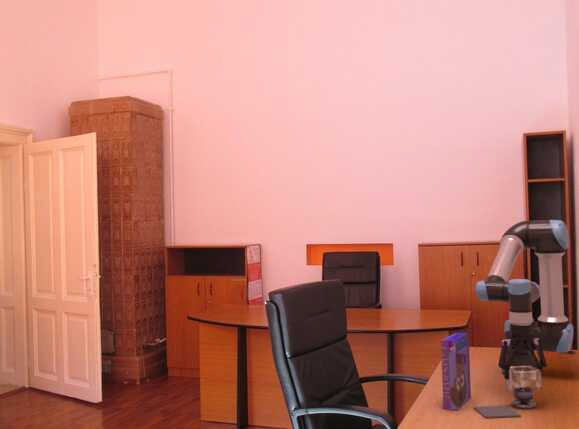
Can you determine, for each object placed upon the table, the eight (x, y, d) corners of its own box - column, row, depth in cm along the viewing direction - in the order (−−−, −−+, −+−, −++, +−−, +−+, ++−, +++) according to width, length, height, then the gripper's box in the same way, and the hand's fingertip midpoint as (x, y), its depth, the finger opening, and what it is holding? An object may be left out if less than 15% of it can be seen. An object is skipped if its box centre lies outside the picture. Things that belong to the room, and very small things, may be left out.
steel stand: (529, 402, 216) (528, 365, 217) (540, 408, 208) (538, 370, 209) (507, 403, 216) (506, 366, 216) (517, 409, 208) (516, 371, 208)
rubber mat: (507, 407, 211) (507, 405, 211) (520, 417, 200) (520, 415, 200) (473, 408, 211) (473, 406, 211) (485, 418, 200) (485, 416, 200)
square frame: (529, 379, 217) (529, 365, 217) (541, 386, 208) (541, 371, 208) (505, 380, 217) (504, 366, 217) (515, 387, 208) (515, 372, 208)
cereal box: (456, 411, 209) (454, 341, 209) (443, 409, 211) (441, 340, 212) (470, 398, 223) (468, 332, 224) (458, 396, 226) (455, 331, 226)
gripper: (546, 320, 217) (548, 383, 217) (486, 323, 216) (488, 386, 216) (556, 324, 209) (558, 389, 209) (494, 326, 208) (497, 392, 208)
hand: (523, 387), depth 212 cm, fingers closed on square frame, 9 cm apart
